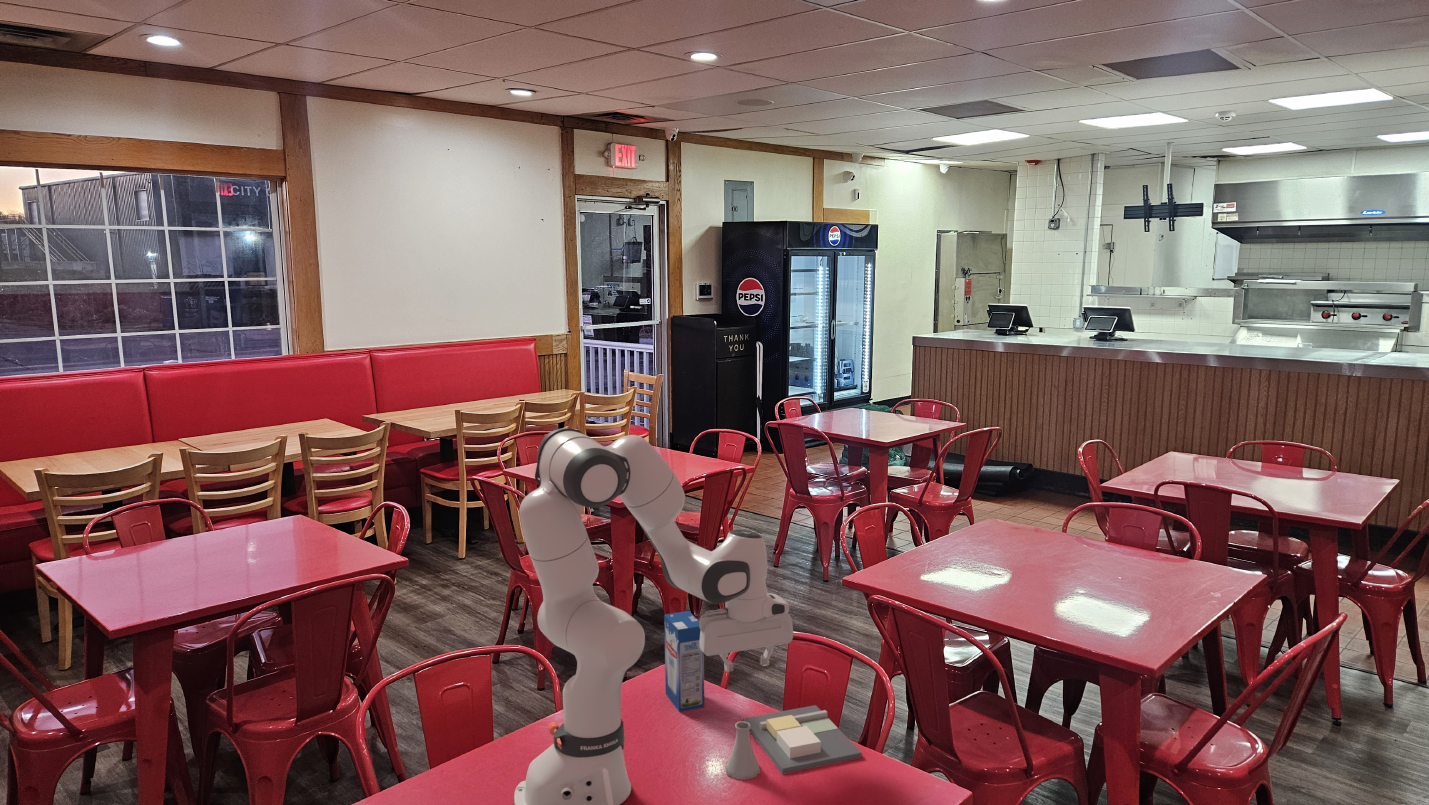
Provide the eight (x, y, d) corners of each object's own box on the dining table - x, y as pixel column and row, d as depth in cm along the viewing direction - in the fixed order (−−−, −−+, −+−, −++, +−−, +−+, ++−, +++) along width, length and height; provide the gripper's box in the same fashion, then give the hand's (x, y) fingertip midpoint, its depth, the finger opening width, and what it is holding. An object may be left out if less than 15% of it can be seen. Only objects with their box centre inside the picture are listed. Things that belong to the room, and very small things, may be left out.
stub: (775, 739, 195) (775, 730, 194) (766, 728, 199) (766, 719, 199) (801, 734, 196) (801, 725, 196) (791, 723, 201) (791, 714, 201)
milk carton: (704, 707, 212) (703, 625, 209) (679, 712, 210) (678, 629, 207) (689, 689, 221) (688, 610, 218) (665, 693, 219) (664, 614, 216)
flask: (757, 782, 181) (757, 735, 180) (722, 778, 183) (721, 732, 181) (763, 763, 188) (763, 718, 187) (728, 759, 190) (728, 714, 188)
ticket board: (782, 774, 184) (782, 757, 183) (743, 723, 204) (743, 708, 204) (861, 757, 190) (861, 741, 189) (815, 710, 210) (815, 695, 210)
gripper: (704, 617, 185) (705, 681, 187) (796, 604, 191) (796, 666, 193) (694, 606, 191) (695, 669, 193) (784, 594, 197) (784, 654, 199)
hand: (746, 667), depth 193 cm, fingers open, 7 cm apart
